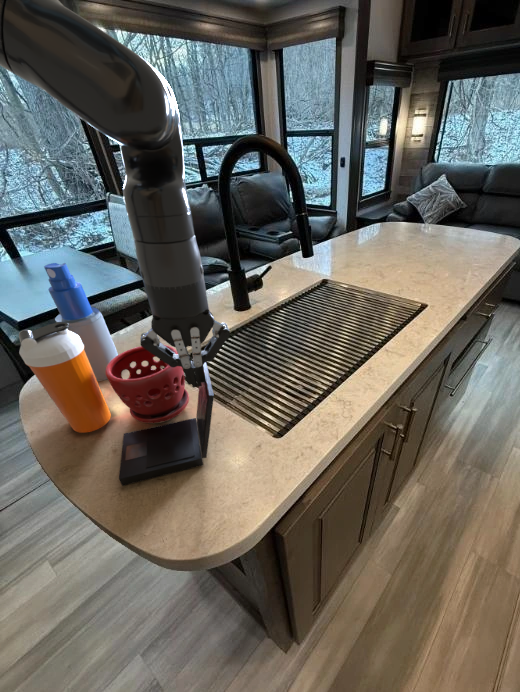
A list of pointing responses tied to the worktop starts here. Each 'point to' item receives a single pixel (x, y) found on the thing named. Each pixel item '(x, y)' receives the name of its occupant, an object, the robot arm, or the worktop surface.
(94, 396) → the shaker bottle
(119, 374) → the flower pot
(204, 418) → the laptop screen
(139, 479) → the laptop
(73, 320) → the spray bottle
